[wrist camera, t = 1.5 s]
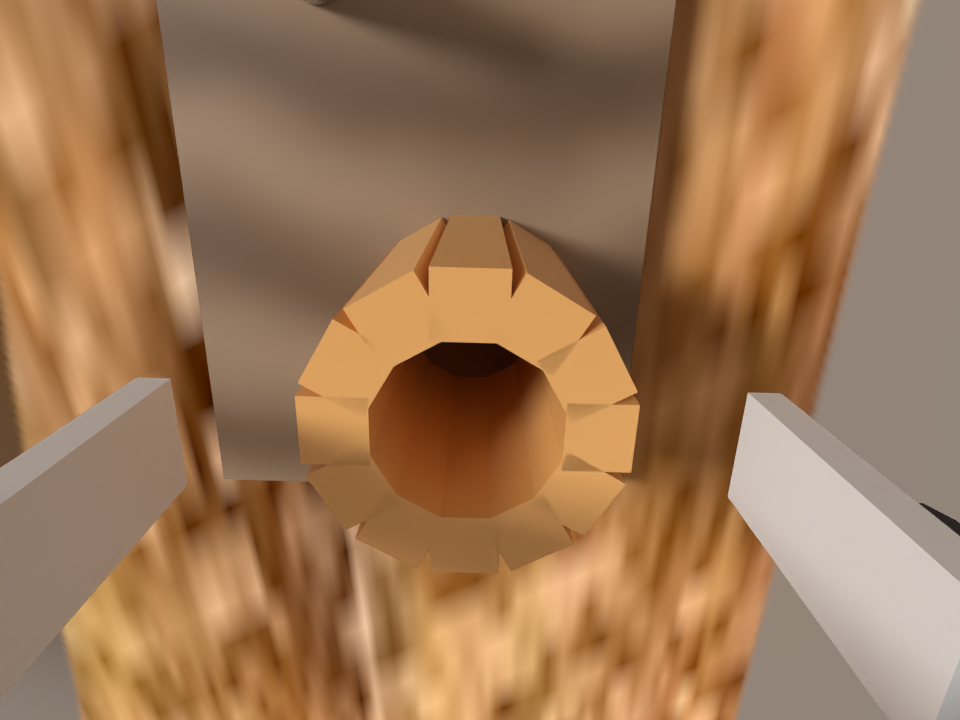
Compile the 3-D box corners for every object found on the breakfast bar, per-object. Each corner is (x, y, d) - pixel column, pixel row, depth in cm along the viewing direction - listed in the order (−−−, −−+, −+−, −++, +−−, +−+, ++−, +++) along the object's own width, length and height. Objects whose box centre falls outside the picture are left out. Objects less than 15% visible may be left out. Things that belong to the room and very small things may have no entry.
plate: (104, -570, 15) (65, -642, 14) (727, -547, 15) (752, -617, 14) (238, 460, 25) (224, 479, 24) (607, 470, 26) (615, 489, 24)
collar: (365, 212, 20) (282, 262, 12) (585, 219, 20) (657, 273, 12) (373, 412, 23) (309, 568, 15) (567, 417, 23) (617, 576, 15)
